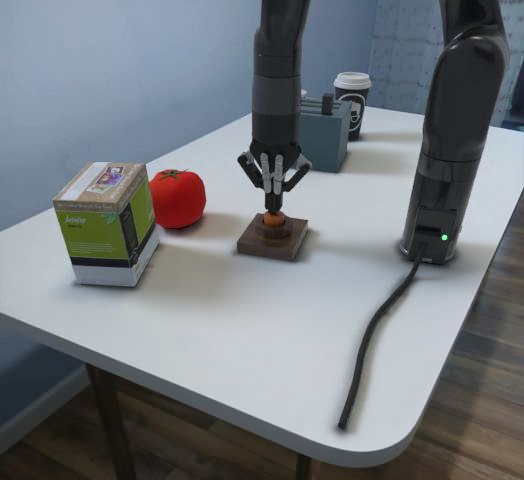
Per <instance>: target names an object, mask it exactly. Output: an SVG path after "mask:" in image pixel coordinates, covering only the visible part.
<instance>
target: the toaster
mask: <svg viewBox="0 0 524 480" xmlns="http://www.w3.org/2000/svg"><path fill="white" fill-rule="evenodd" d="M301 98H302V104H301V111H300V130H299V145H300V147H301V154H302V155H303V156H304V157H305V158H306V159H307V160H312V162H313V165H312V167H311V169H310V170H309V171H319V172H326V173H327V172H328V173H336V174H337V173H338V170H339V168H340V167H341V165H342V162H343V161H344V158H345V156H346V155H347V153H348V143H349V141H348V135H349V126H350V117H351V108H352V102H351V101H339V100H335V99H333V109H332V112H331V113H330V114H323V113H321V109H322V98H313V97H305V98H303V97H301ZM296 166H297V160H296V161H295V163H294V164H293V165H292V166H291V168H292V169H296ZM291 168H290V169H291Z"/></svg>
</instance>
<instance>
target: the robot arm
mask: <svg viewBox="0 0 524 480" xmlns="http://www.w3.org/2000/svg"><path fill="white" fill-rule="evenodd" d="M260 1H261V2H260V3H261V5H260V18H259V19H260V22H259V26H258V27H257V28H256V29H255V31H254V36H253V41H252V71H253V73H252V82H251V142H250V144H249V147H248V149H247V151H243V152H242V153H241V154H240V155H239V156H238V157H237V158H236V162H237V163H238V164H239V166H240V167H241V169H242V170H243V172H244V173H245V175H246V176H247V178H249V180H250V182H251V183H252V185H253V186H254V188H256V189H261V190H263V192H264V208H265V210H266V211H268V213H272V214H277V212H278V211H281V209H282V208H283V202H284V193H290V192H291V191H292V190H293V189H294V188H295V187H296V186H297V185H298V184H299V183H300V181H301V180H302V179H303V178H304V177H305V176H306V175H307V174H308V172H310V171H311V170H310V169H311V167H312V165H313V162H312V160H307V159H306V158H305V157H304V156H303V155H302V154H301V147H300V145H299V130H300V111H301V104H302V98H301V90H303V88H302V59H303V57H302V56H303V36H304V32H305V29H306V26H307V21H308V17H309V11H310V5H311V1H312V0H260ZM438 3H439V9H440V17H441V26H442V41H443V50H442V51H441V53H440V55H438V58H437V59H436V62H435V65H434V68H433V72H432V75H431V80H430V85H429V90H428V94H427V95H428V96H427V99H426V106H425V110H424V111H425V112H424V116H423V117H424V118H423V123H422V130H421V131H422V132H421V133H422V141H421V146H420V150H419V153H418V154H419V155H418V160H417V165H416V169H415V174H414V178H413V183H412V188H411V193H410V198H409V203H408V207H407V211H406V217H405V222H404V228H403V232H402V237H401V240H400V243H399V249H400V251H401V252H402V253H403V254H404V255H405V256H406V259H407V260H409V261H414V263H413V265H412V267H411V270H410V271H409V272H408V274H407V277H406V278H405V280H404V281H402V284H400V285H399V286H398V287H397V288H396V289H395V290H394V291H393V292H392V293H391V295H390V296H389V297H388V298H387V299H386V300H385V301H384V302H383V303H382V305H380V307H379V308H378V309H377V310H376V311H375V313H374V314H373V315H372V318H371V319H370V321H369V323H368V325H367V327H366V329H365V331H364V334H363V336H362V340H361V342H360V345H359V349H358V352H357V354H356V355H357V356H356V360H355V364H354V369H353V376H352V380H351V383H350V388H349V391H348V394H347V397H346V400H345V403H344V405H343V409H342V411H341V414H340V417H339V420H338V423H337V428H339V429H340V430H344V429H346V426H347V424H348V420H349V417H350V414H351V412H352V409H353V406H354V402H355V399H356V396H357V393H358V389H359V386H360V382H361V376H362V371H363V365H364V361H365V355H366V352H367V348H368V345H369V341H370V339H371V335H372V334H373V331H374V328H375V327H376V325H377V323H378V322H379V320H380V318H381V317H382V316H383V314H384V313H385V312H386V310H388V308H389V307H390V306H391V305H392V304H393V303H394V302H395V301H396V300H397V299H398V298H399V296H400V295H401V294H402V293H403V292H404V291H405V290H406V289H407V287H408V286H409V285H410V284H411V283H412V281H413V279H414V277H415V276H416V273H417V272H418V270H419V267H420V265H421V263H428V264H435V265H443V266H444V265H445V263H446V262H447V261H449V260H451V259H452V258H454V256H455V253H456V247H457V244H458V240H459V237H460V234H461V233H462V228H463V222H464V220H465V215H466V212H467V209H468V206H469V201H470V198H471V195H472V191H473V187H474V185H475V181H476V177H477V174H478V171H479V167H480V164H481V160H482V157H483V154H484V150H485V147H486V144H487V141H488V140H487V139H488V134H489V130H490V126H491V122H492V119H493V116H494V111H495V108H496V105H497V101H498V98H499V94H500V91H501V87H502V85H503V81H504V80H505V78H506V76H507V74H508V72H509V71H508V70H509V69H510V62H511V49H510V44H509V41H508V37H507V32H506V28H505V23H504V19H503V18H504V17H503V15H502V14H503V13H502V10H501V3H500V0H438ZM296 160H297V166H296V168H295V169H296V172H294V174H293V175H292V176H291V177H290V178H289V180H287V181H286V177H287V172H288V171H289V170H290V169H291V166H292V165H293V164H294V163H295V161H296ZM255 162H256V163H255ZM256 164H257V165H258V166H257V165H256ZM259 168H260V169H261V171H260V169H259Z"/></svg>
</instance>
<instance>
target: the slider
mask: <svg viewBox="0 0 524 480" xmlns="http://www.w3.org/2000/svg"><path fill="white" fill-rule="evenodd" d="M321 99H322V109H321V113H323V114H330V113H331V112H332V109H333V100H334V99H335V94H334V93H328V92H324V93H323V95H322V97H321Z"/></svg>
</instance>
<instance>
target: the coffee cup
mask: <svg viewBox="0 0 524 480" xmlns="http://www.w3.org/2000/svg"><path fill="white" fill-rule="evenodd" d="M333 86H334V87H335V88H334V91H335V92H334V93H335V94H334V100H339V101H351V102H352V108H351V117H350V126H349V135H348V142H354V141H357V140H358V139H359V138H360V135H361V129H362V123H363V119H364V114H365V109H366V104H367V99H368V95H369V90H370V88H371V87H372V81H371V80H370V75H369V74H367V73H364V72H358V71H357V72H356V71H345V72H340V73H338V74H337V76H336V78H335V79H334V82H333Z"/></svg>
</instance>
